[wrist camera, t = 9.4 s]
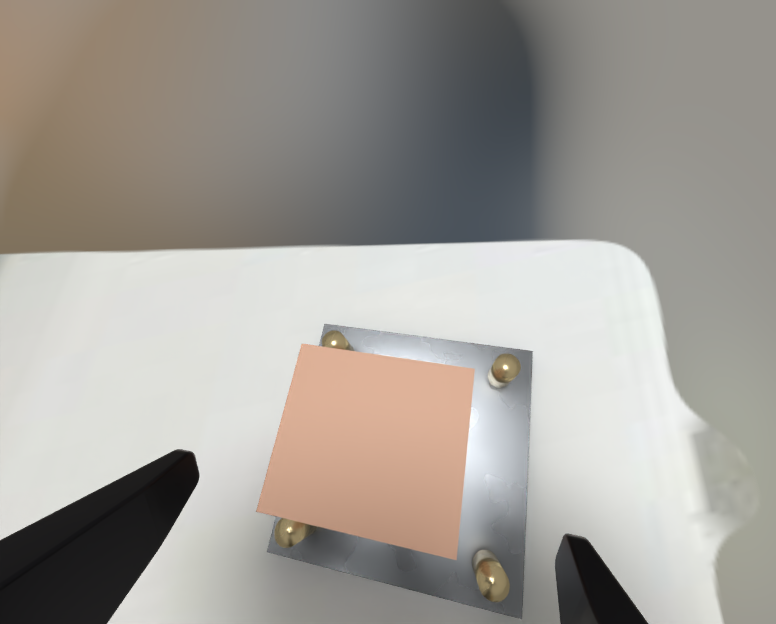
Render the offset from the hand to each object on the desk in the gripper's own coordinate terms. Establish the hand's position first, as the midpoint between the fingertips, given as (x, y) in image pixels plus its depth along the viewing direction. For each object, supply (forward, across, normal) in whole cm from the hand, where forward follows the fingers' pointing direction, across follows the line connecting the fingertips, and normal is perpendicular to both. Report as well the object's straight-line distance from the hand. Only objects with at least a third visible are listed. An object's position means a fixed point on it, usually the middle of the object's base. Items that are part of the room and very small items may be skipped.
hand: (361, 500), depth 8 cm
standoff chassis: (+9, 0, +7) cm, 11 cm away
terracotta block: (+8, 0, +6) cm, 10 cm away
